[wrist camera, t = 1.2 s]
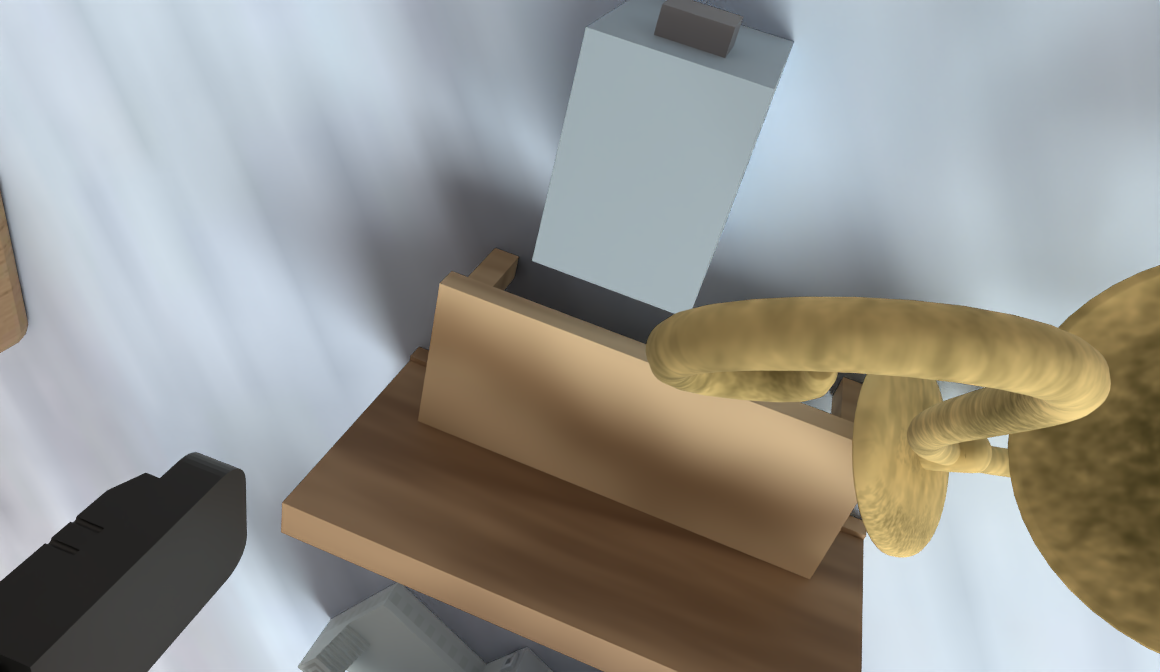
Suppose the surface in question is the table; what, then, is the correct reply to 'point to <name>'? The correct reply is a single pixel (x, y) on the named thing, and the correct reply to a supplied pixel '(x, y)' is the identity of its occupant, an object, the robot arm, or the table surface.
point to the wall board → (597, 497)
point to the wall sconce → (970, 417)
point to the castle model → (401, 641)
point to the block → (9, 291)
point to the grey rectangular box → (656, 147)
